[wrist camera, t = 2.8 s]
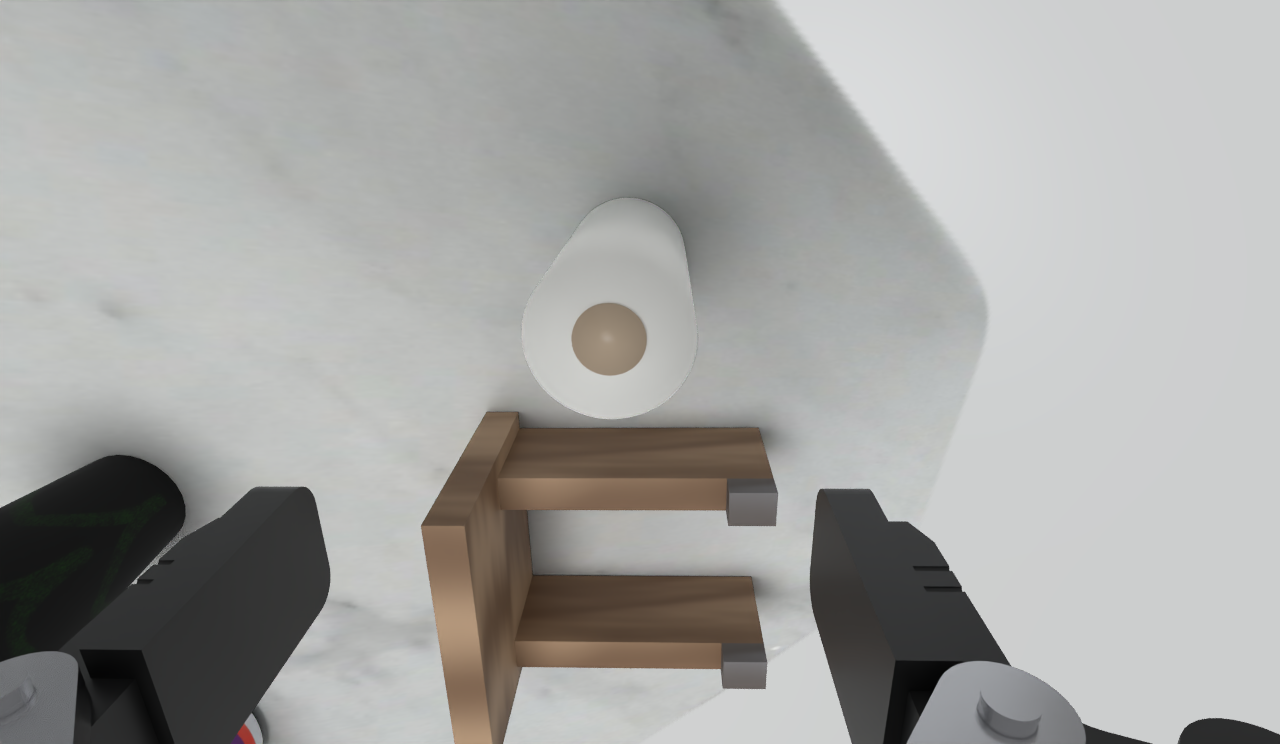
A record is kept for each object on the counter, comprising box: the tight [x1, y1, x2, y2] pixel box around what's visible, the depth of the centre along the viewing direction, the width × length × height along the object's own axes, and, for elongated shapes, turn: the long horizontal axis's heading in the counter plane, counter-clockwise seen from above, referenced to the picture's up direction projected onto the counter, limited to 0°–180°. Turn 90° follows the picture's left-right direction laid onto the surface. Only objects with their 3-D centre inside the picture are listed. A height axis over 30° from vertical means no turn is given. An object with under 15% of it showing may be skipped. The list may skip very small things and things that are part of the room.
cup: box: [0, 455, 185, 662], centre depth 31 cm, size 8×8×12 cm
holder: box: [421, 412, 778, 744], centre depth 32 cm, size 12×14×10 cm
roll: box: [521, 198, 698, 419], centre depth 26 cm, size 5×5×12 cm
